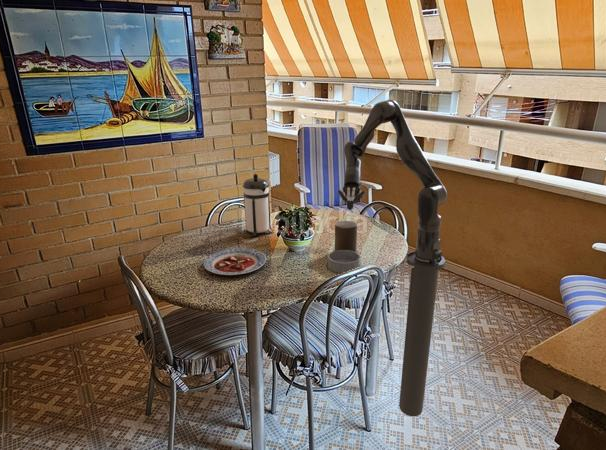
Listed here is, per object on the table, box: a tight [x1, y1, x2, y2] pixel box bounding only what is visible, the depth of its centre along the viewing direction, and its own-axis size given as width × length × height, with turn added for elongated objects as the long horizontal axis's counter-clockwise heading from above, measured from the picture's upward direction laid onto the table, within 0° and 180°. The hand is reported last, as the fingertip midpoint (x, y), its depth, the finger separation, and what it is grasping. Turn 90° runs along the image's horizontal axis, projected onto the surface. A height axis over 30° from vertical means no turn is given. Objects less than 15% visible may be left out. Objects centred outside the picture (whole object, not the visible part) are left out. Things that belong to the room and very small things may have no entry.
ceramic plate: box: [203, 247, 267, 276], centre depth 170 cm, size 26×26×3 cm
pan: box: [327, 250, 362, 274], centre depth 168 cm, size 13×13×4 cm
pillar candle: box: [334, 220, 358, 253], centre depth 179 cm, size 10×10×15 cm
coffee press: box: [242, 173, 274, 238], centre depth 203 cm, size 17×16×30 cm
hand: (349, 209), depth 191 cm, fingers closed
